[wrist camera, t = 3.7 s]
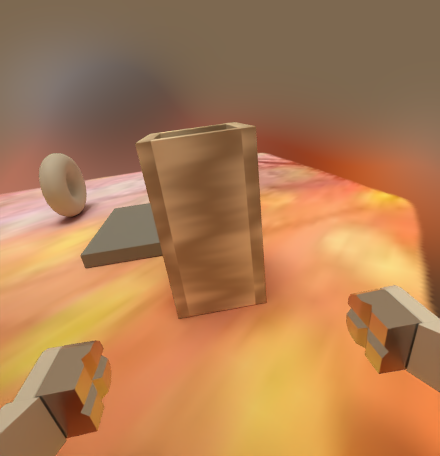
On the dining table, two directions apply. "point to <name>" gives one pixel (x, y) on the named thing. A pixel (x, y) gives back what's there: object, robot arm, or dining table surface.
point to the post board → (124, 237)
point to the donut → (62, 185)
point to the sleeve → (207, 215)
